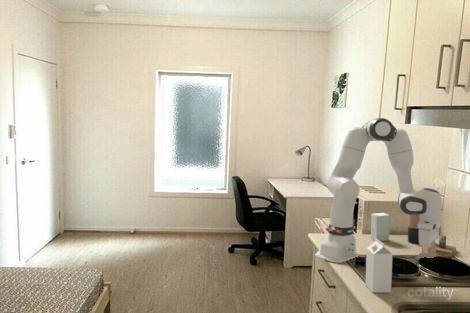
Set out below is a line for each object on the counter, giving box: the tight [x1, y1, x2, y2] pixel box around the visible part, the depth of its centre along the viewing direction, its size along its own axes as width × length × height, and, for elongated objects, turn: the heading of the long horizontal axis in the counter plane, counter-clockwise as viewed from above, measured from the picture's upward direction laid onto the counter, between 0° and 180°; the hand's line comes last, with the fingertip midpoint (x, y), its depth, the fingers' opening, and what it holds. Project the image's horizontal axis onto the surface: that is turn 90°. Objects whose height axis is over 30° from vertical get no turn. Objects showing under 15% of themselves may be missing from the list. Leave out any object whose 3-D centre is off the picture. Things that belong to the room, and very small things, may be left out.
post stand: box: [434, 234, 457, 258], centre depth 185 cm, size 12×10×8 cm
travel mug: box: [407, 214, 420, 245], centre depth 199 cm, size 8×8×20 cm
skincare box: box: [370, 212, 391, 242], centre depth 204 cm, size 8×6×15 cm
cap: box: [421, 245, 437, 258], centre depth 173 cm, size 5×5×6 cm
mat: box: [413, 252, 422, 261], centre depth 174 cm, size 11×10×1 cm
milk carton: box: [365, 239, 393, 294], centre depth 140 cm, size 7×7×19 cm
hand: (428, 250), depth 173 cm, fingers open, 8 cm apart
